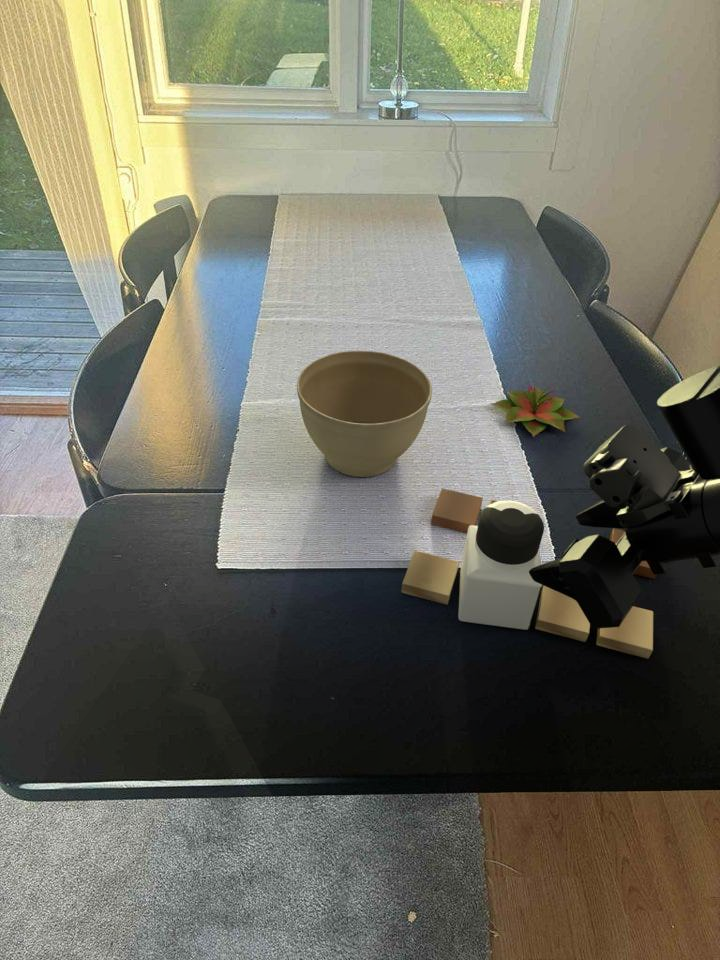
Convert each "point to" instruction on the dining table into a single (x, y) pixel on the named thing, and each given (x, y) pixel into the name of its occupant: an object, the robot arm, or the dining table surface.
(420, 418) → the planter bowl
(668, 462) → the robot arm
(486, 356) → the dining table surface
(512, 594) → the medicine bottle
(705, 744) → the dining table surface
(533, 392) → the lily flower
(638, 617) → the set of tan blocks
